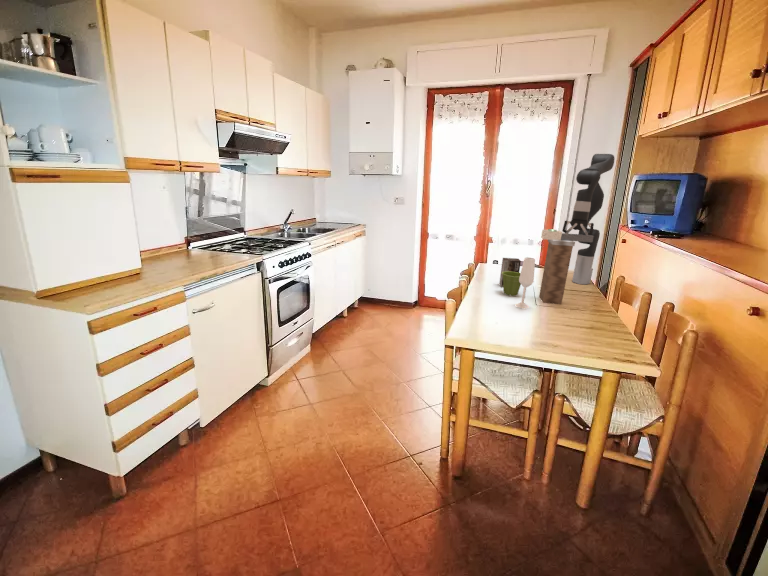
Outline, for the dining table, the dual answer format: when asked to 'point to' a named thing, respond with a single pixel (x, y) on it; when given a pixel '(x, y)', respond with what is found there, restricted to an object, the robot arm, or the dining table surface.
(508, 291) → the plant pot
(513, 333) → the dining table surface
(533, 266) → the champagne flute
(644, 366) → the dining table surface
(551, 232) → the block
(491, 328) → the dining table surface
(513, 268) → the coffee box
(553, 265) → the anvil stand
